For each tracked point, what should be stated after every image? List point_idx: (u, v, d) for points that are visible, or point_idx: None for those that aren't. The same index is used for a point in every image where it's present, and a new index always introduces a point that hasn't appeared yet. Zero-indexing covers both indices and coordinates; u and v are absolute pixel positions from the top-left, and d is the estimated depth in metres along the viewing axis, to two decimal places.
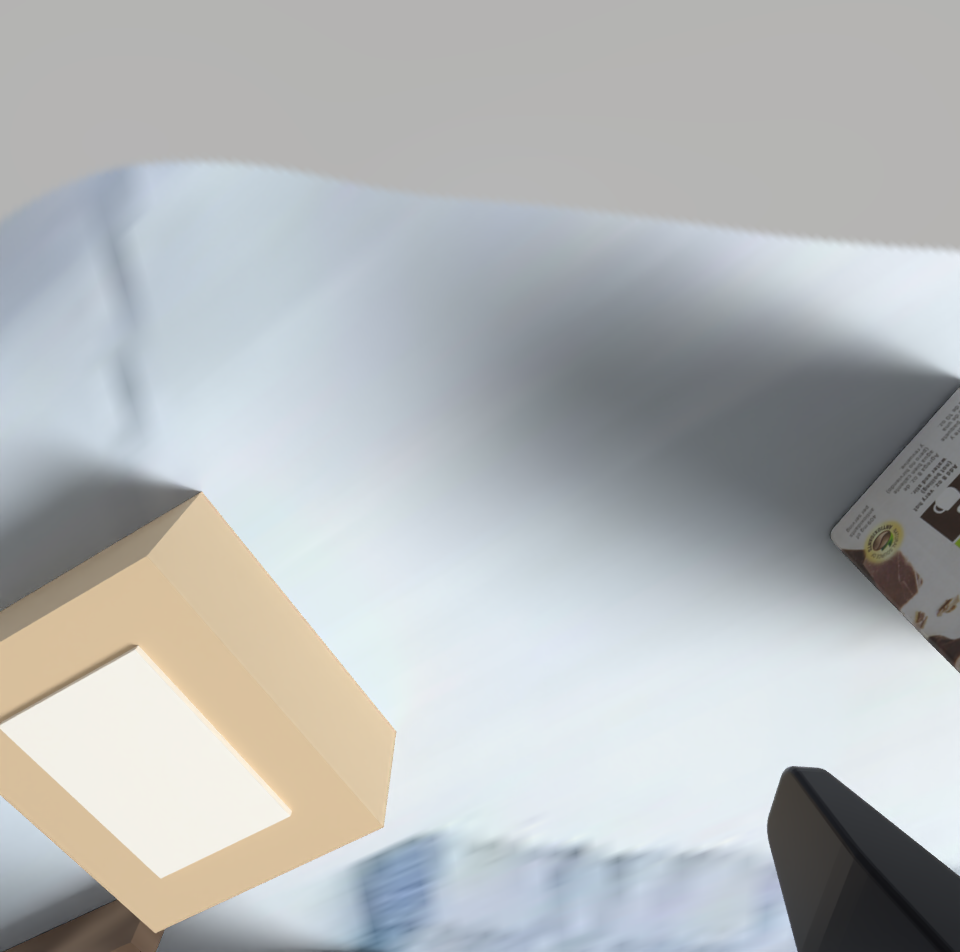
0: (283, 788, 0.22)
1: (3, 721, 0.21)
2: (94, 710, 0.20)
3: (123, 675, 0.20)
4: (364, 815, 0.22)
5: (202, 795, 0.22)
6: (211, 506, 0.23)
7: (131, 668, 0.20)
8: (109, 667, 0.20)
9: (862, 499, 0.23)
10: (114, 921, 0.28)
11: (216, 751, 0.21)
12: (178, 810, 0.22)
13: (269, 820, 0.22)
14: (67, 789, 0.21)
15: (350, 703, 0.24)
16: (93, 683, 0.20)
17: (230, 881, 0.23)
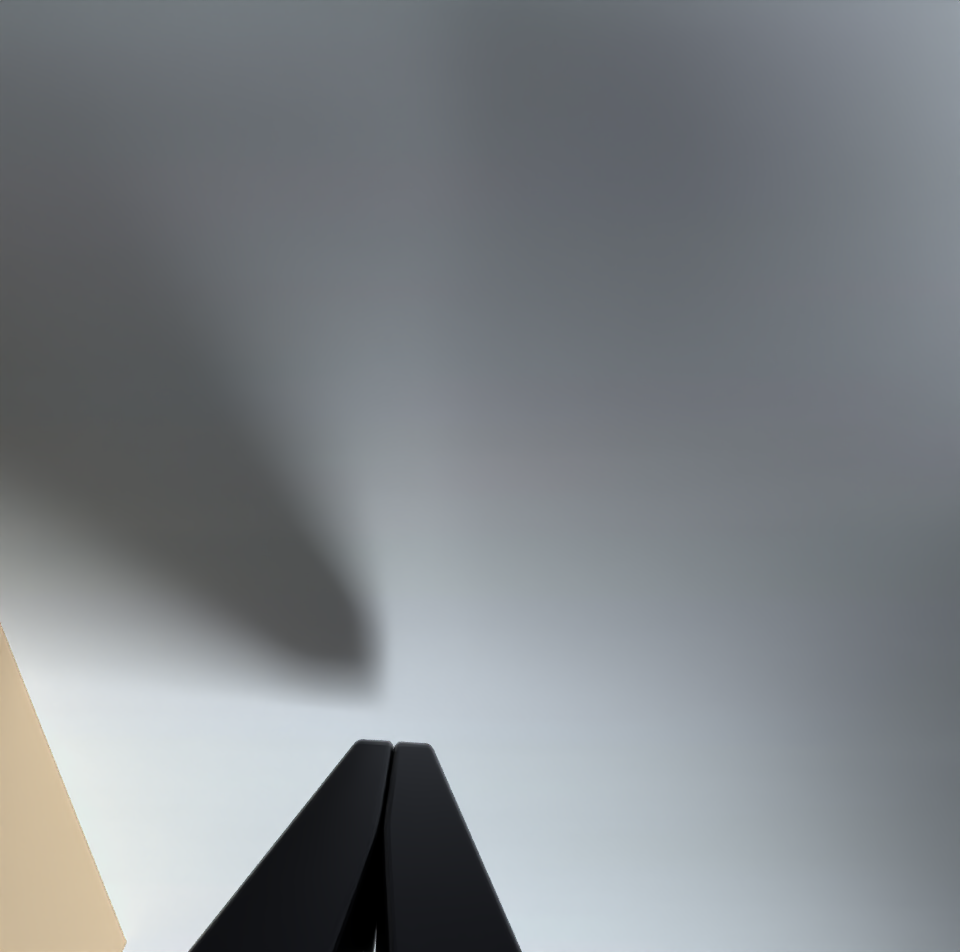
0: None
1: None
2: None
3: None
4: None
5: None
6: None
7: None
8: None
9: None
10: None
11: None
12: None
13: None
14: None
15: (26, 889, 0.09)
16: None
17: None
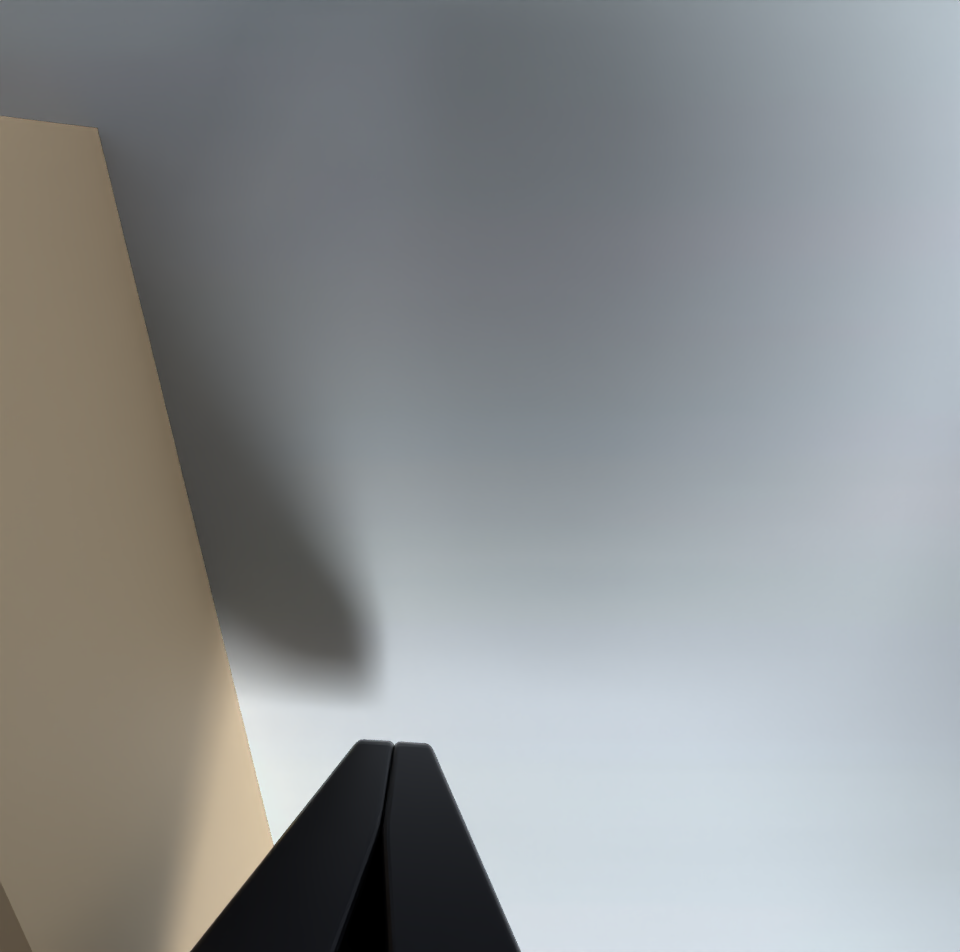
0: None
1: None
2: None
3: None
4: None
5: None
6: (112, 190, 0.07)
7: None
8: None
9: None
10: None
11: None
12: None
13: None
14: None
15: (245, 878, 0.09)
16: None
17: None
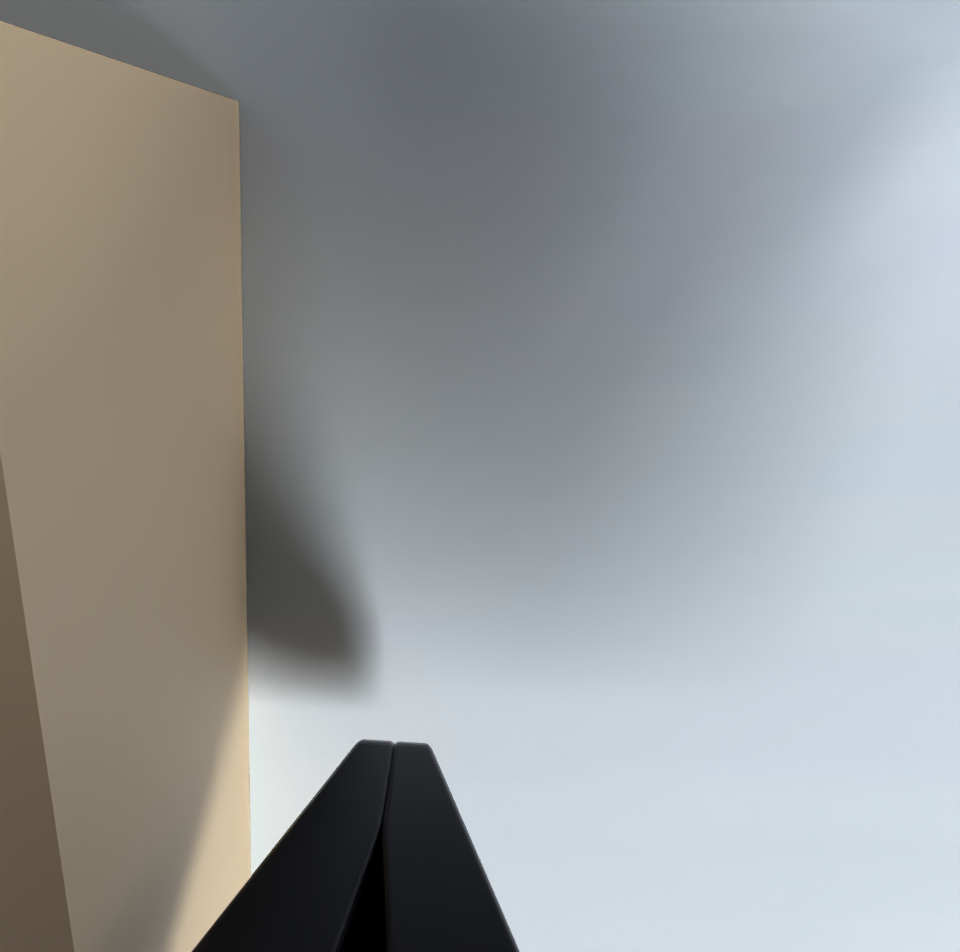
0: None
1: None
2: None
3: None
4: None
5: None
6: (237, 164, 0.07)
7: None
8: None
9: None
10: None
11: None
12: None
13: None
14: None
15: (224, 872, 0.09)
16: None
17: None
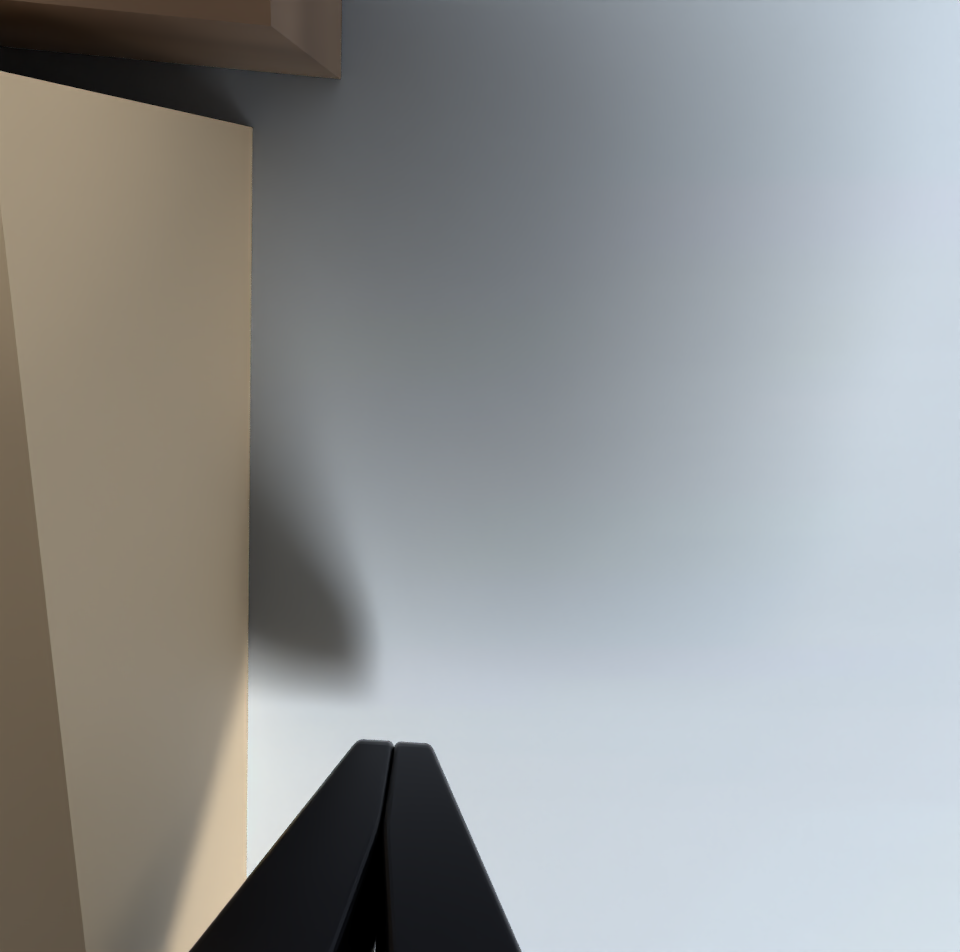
0: None
1: None
2: None
3: None
4: None
5: None
6: (251, 189, 0.07)
7: None
8: None
9: None
10: None
11: None
12: None
13: None
14: None
15: (223, 877, 0.09)
16: None
17: None
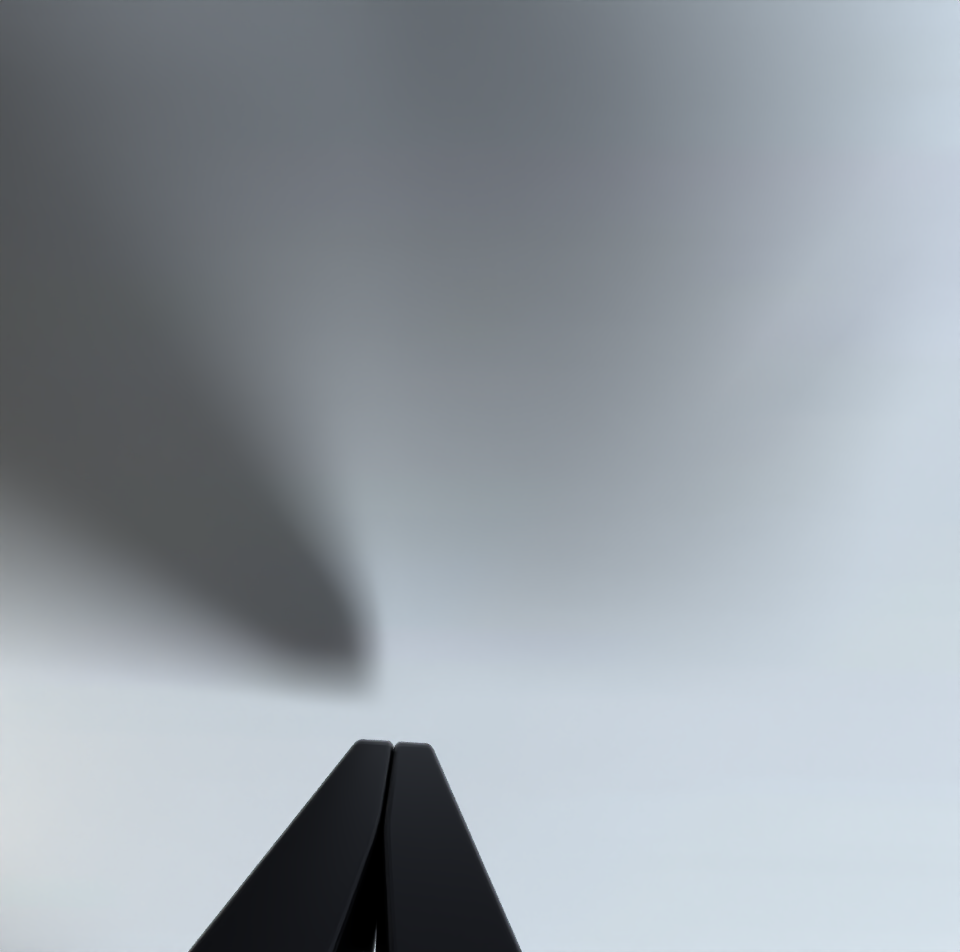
0: None
1: None
2: None
3: None
4: None
5: None
6: None
7: None
8: None
9: None
10: None
11: None
12: None
13: None
14: None
15: None
16: None
17: None
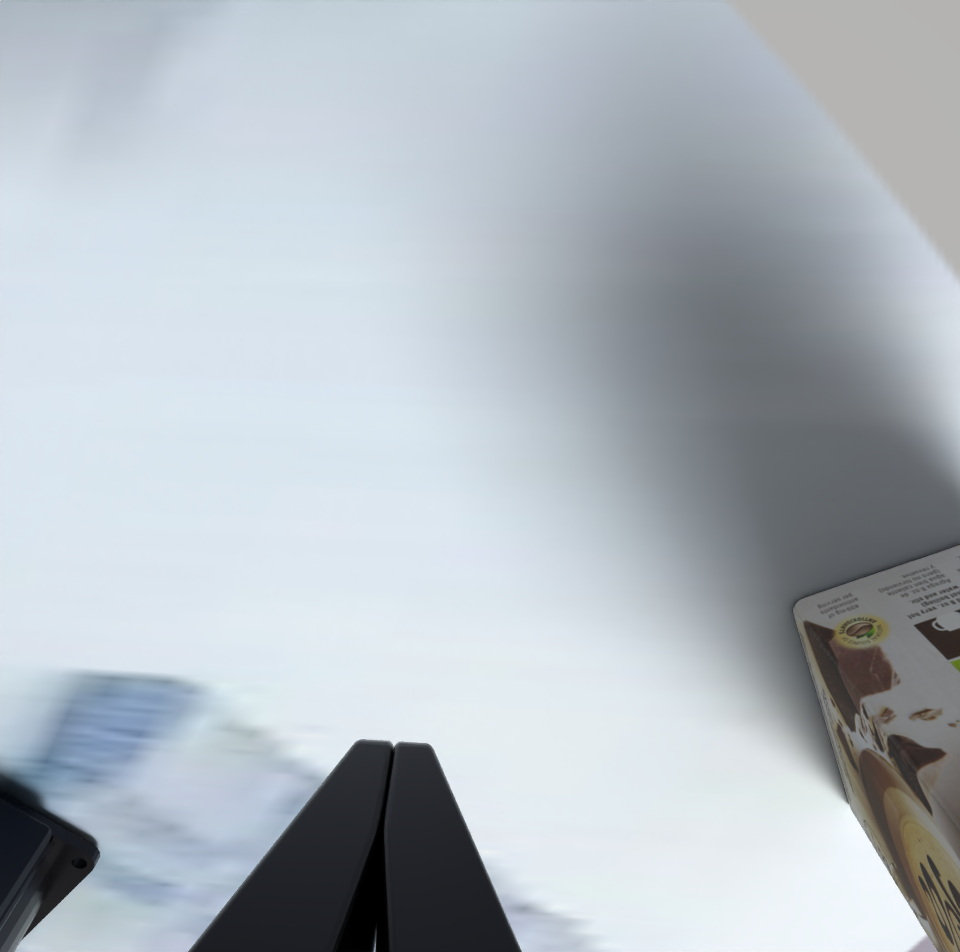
0: None
1: None
2: None
3: None
4: None
5: None
6: None
7: None
8: None
9: (846, 586, 0.21)
10: None
11: None
12: None
13: None
14: None
15: None
16: None
17: None
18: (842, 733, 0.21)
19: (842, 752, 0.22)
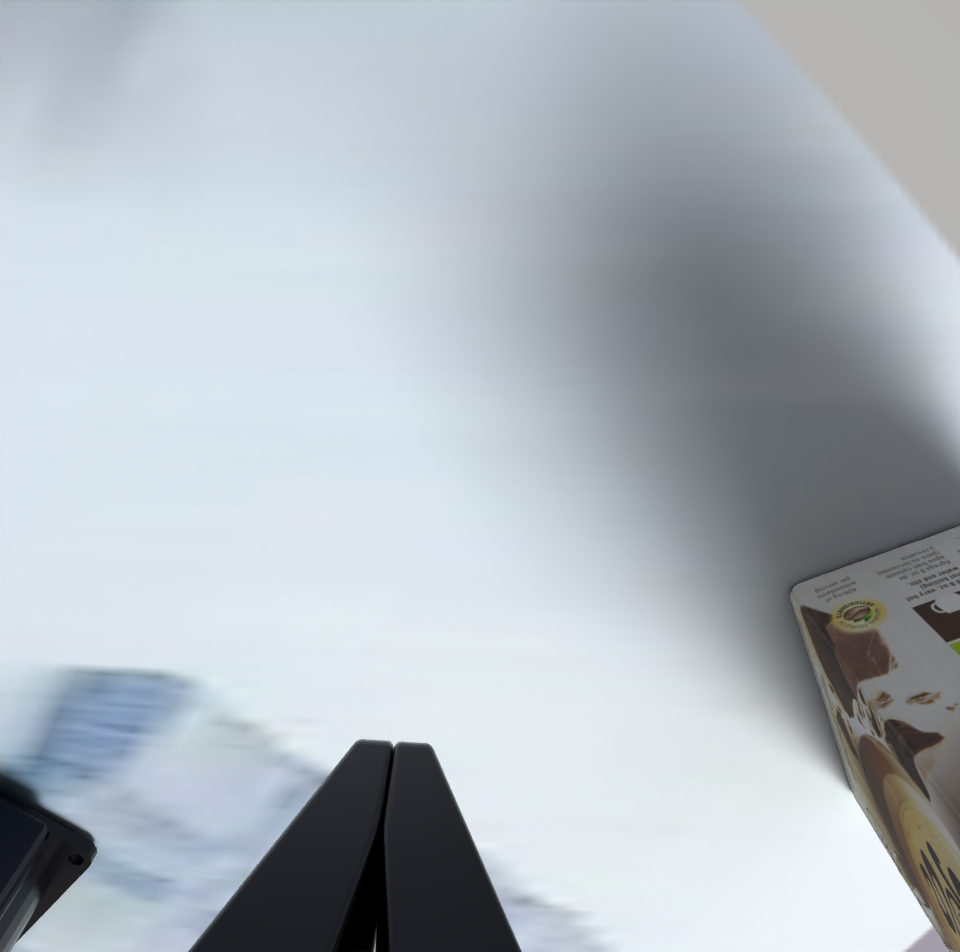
0: None
1: None
2: None
3: None
4: None
5: None
6: None
7: None
8: None
9: (844, 570, 0.21)
10: None
11: None
12: None
13: None
14: None
15: None
16: None
17: None
18: (841, 719, 0.20)
19: (843, 739, 0.22)
